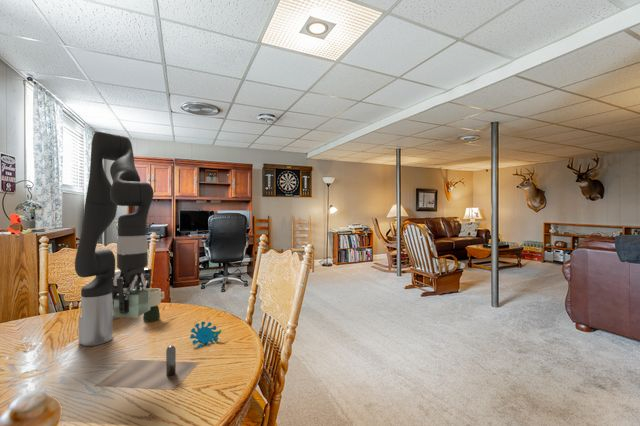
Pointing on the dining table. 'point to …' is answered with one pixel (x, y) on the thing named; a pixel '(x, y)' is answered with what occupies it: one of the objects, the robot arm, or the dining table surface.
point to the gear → (204, 334)
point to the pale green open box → (135, 303)
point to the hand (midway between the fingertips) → (132, 308)
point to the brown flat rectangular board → (148, 375)
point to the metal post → (170, 361)
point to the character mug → (154, 305)
